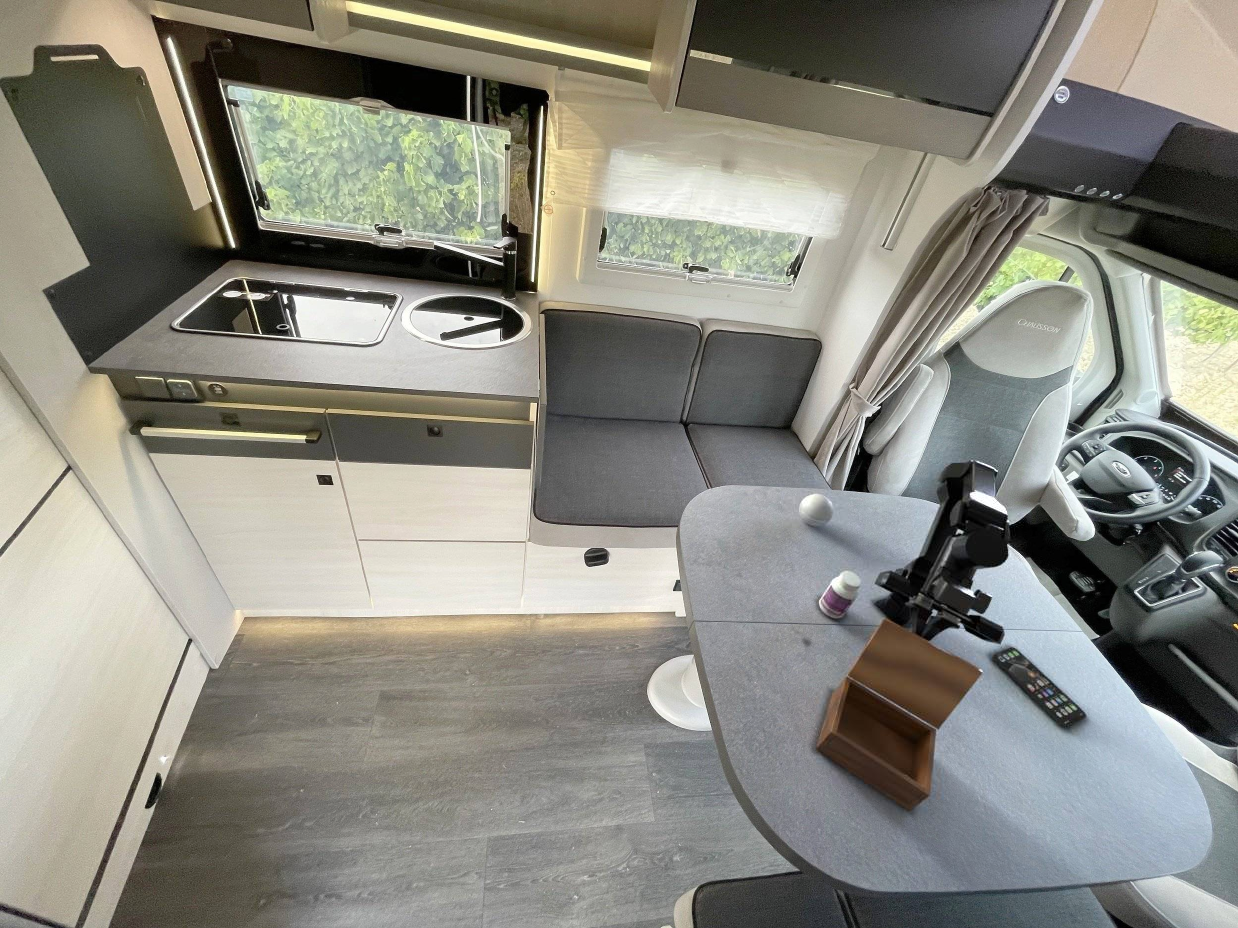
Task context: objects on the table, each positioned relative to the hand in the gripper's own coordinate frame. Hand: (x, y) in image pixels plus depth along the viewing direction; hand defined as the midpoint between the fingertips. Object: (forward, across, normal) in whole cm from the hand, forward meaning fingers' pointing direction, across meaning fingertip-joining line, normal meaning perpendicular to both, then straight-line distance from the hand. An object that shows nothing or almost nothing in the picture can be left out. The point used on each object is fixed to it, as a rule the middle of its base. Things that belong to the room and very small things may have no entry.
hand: (913, 650), depth 83 cm
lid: (+4, 0, -4) cm, 5 cm away
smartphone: (-6, +27, +24) cm, 36 cm away
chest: (+18, 0, 0) cm, 18 cm away
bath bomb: (-17, -23, +35) cm, 45 cm away
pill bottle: (0, -12, +17) cm, 21 cm away
